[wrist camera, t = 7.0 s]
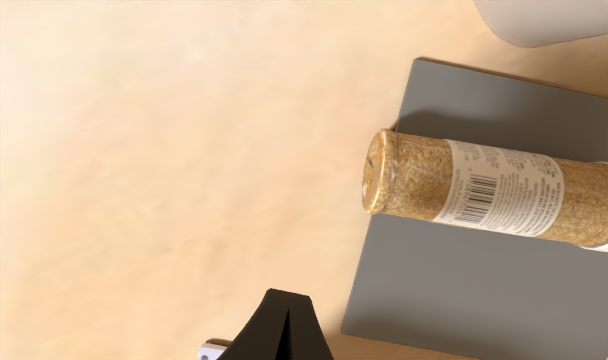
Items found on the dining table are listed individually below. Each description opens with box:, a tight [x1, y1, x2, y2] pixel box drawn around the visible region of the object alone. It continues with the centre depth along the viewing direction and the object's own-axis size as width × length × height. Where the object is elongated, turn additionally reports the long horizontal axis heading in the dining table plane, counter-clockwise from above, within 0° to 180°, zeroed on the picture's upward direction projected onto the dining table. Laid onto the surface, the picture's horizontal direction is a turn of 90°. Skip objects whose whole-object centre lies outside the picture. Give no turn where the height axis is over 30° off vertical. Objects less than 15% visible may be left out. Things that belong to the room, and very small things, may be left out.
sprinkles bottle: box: [362, 128, 608, 252], centre depth 17 cm, size 5×5×14 cm
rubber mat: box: [341, 59, 608, 360], centre depth 20 cm, size 18×18×1 cm
